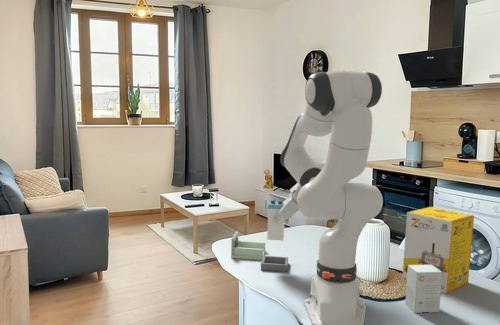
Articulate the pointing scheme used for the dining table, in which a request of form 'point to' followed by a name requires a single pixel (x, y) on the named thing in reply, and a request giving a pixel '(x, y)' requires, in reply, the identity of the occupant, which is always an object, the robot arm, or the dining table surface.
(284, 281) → the dining table surface
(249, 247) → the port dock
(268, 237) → the plug block
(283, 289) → the dining table surface
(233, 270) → the dining table surface
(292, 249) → the dining table surface
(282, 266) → the frame
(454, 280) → the packaging box
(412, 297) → the small box
